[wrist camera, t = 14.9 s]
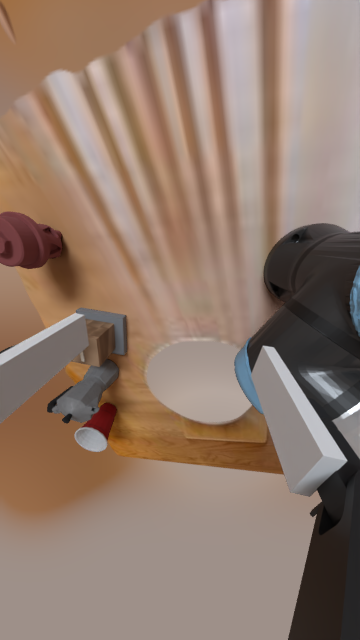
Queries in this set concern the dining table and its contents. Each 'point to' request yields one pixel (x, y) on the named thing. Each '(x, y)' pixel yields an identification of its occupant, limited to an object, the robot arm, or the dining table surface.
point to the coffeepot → (85, 393)
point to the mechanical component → (27, 241)
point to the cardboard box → (97, 343)
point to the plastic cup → (97, 429)
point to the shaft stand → (113, 318)
